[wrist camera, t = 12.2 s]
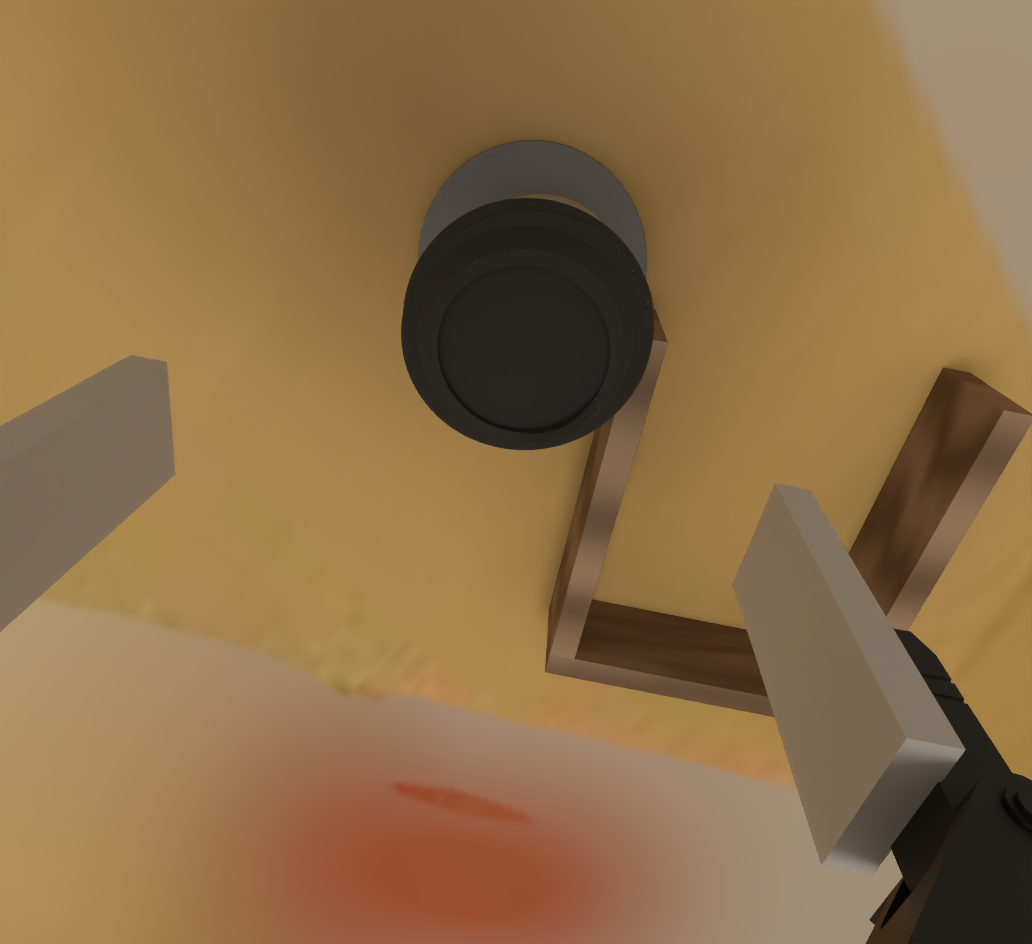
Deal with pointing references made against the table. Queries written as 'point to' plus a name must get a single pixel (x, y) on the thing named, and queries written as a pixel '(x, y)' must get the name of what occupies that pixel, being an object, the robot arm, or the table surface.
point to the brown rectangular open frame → (876, 553)
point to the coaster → (537, 189)
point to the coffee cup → (527, 323)
